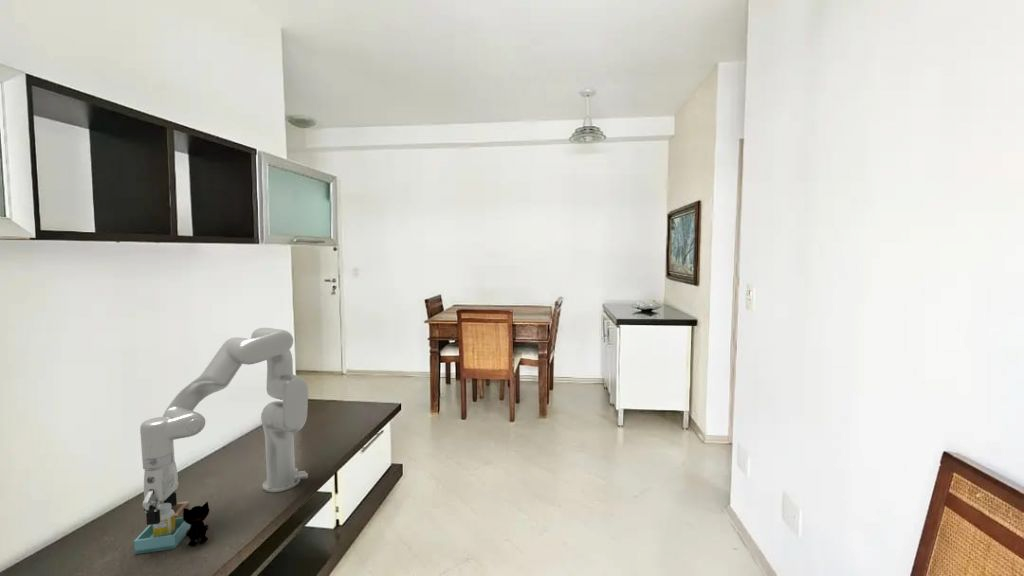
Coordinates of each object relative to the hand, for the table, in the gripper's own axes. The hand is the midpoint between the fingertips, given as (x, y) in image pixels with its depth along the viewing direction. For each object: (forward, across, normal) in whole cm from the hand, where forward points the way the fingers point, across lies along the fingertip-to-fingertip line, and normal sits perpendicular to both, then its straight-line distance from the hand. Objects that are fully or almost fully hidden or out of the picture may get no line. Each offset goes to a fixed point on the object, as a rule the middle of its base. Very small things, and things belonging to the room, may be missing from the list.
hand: (162, 514), depth 136 cm
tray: (+8, 0, 0) cm, 8 cm away
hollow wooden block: (+8, +12, +4) cm, 15 cm away
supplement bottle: (+7, 0, 0) cm, 8 cm away
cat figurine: (+8, -4, -10) cm, 14 cm away
